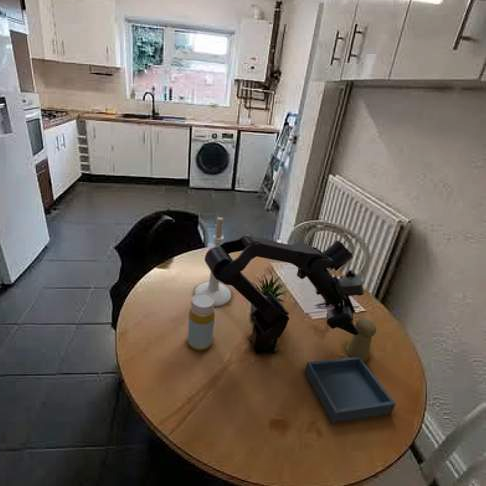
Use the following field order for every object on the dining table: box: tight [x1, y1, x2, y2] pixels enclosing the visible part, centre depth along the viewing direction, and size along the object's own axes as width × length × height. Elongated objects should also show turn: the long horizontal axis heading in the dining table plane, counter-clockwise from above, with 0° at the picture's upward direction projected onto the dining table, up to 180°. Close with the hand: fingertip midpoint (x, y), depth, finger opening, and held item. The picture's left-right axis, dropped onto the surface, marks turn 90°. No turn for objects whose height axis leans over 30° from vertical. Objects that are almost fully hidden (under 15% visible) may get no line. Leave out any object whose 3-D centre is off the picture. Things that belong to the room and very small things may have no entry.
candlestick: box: [194, 216, 232, 307], centre depth 104 cm, size 13×13×30 cm
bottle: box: [187, 293, 216, 351], centre depth 86 cm, size 7×7×15 cm
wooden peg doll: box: [345, 318, 377, 362], centre depth 88 cm, size 6×6×11 cm
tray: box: [304, 356, 396, 424], centre depth 77 cm, size 16×14×4 cm
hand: (355, 323), depth 87 cm, fingers open, 9 cm apart
